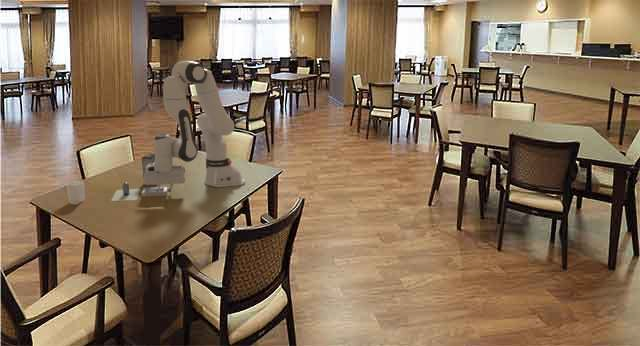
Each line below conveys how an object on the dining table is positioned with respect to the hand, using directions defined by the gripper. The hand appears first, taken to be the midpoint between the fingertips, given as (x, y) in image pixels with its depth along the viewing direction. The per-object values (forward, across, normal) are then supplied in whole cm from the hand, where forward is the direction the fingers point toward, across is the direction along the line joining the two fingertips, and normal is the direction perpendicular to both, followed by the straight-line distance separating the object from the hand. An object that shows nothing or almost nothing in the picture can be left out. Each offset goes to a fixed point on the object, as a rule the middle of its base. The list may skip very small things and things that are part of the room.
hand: (165, 191), depth 262 cm
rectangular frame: (+2, +5, 0) cm, 6 cm away
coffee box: (+2, +8, -21) cm, 23 cm away
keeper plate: (+2, +19, 0) cm, 19 cm away
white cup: (+2, +41, +6) cm, 42 cm away
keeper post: (+1, +19, 0) cm, 19 cm away
